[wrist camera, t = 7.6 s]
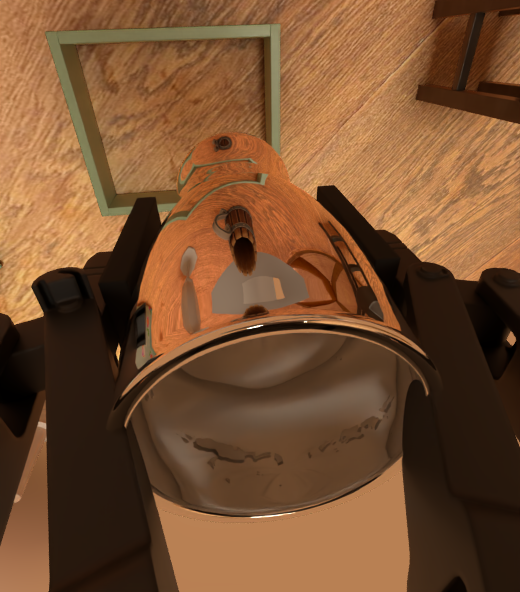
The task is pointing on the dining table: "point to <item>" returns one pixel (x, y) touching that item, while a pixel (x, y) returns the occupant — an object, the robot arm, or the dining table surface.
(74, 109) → the green rectangular open frame
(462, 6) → the stool
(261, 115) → the dining table surface
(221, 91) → the dining table surface
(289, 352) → the beer glass
